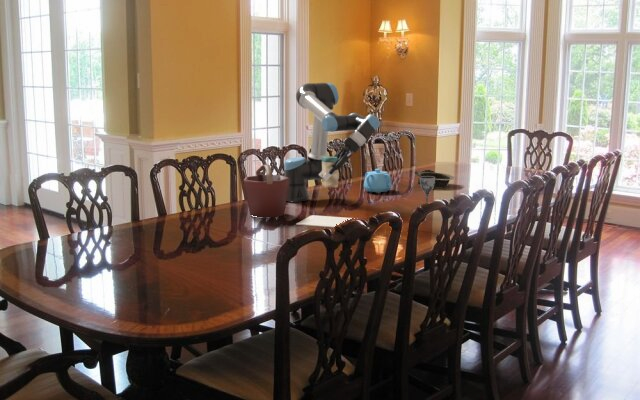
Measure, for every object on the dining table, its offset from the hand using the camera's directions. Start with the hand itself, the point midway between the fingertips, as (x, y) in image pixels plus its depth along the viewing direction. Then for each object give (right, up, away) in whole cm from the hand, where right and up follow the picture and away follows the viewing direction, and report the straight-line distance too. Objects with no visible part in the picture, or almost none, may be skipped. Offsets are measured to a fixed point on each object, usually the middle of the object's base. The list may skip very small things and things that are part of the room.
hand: (322, 177), depth 326 cm
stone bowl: (+69, -3, +93) cm, 116 cm away
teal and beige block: (+4, -4, +2) cm, 6 cm away
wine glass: (+55, -14, +35) cm, 67 cm away
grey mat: (+2, -21, -2) cm, 21 cm away
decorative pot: (+33, -6, +76) cm, 83 cm away
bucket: (-27, -18, +16) cm, 36 cm away
